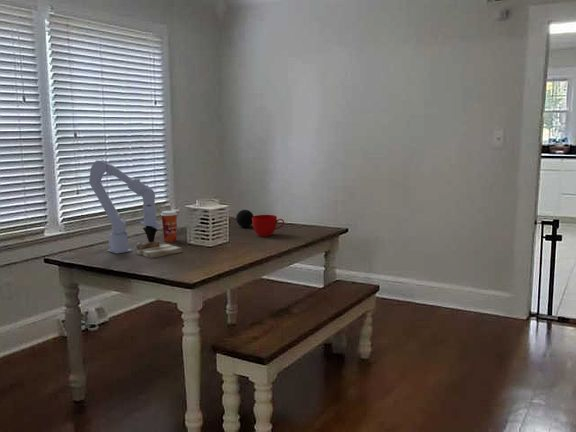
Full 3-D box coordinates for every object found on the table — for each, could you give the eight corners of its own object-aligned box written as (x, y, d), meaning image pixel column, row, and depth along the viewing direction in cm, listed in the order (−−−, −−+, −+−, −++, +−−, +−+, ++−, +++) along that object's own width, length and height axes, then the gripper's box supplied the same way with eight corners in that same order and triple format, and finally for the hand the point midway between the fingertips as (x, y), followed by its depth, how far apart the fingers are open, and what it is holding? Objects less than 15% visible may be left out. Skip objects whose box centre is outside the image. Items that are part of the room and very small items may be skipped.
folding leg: (138, 249, 276) (138, 244, 276) (135, 248, 278) (135, 243, 278) (159, 245, 284) (159, 240, 283) (157, 245, 286) (156, 239, 285)
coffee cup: (167, 243, 301) (165, 213, 298) (159, 240, 307) (157, 211, 305) (181, 240, 306) (180, 211, 304) (173, 238, 312) (172, 209, 310)
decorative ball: (251, 229, 335) (250, 211, 333) (234, 228, 337) (233, 211, 336) (256, 225, 345) (255, 208, 343) (239, 225, 347) (239, 208, 345)
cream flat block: (135, 253, 279) (135, 248, 279) (165, 247, 290) (165, 243, 289) (151, 257, 269) (151, 253, 269) (181, 252, 280) (181, 247, 279)
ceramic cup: (282, 238, 308) (281, 219, 307) (250, 237, 311) (249, 218, 309) (286, 233, 321) (286, 214, 319) (255, 232, 324) (254, 214, 322)
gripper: (165, 214, 282) (166, 242, 284) (149, 211, 292) (150, 238, 294) (151, 216, 277) (153, 244, 279) (136, 212, 287) (137, 240, 289)
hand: (151, 241), depth 286 cm, fingers closed
